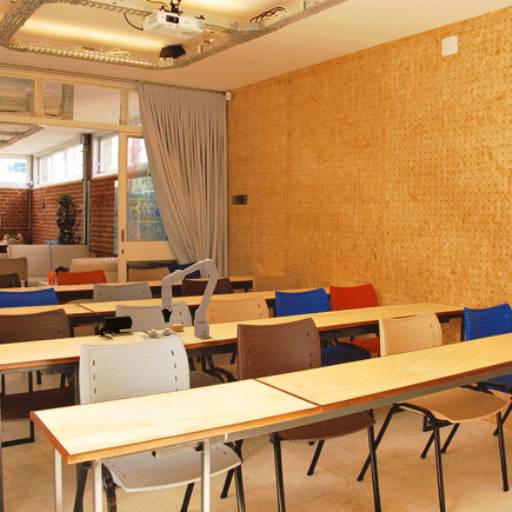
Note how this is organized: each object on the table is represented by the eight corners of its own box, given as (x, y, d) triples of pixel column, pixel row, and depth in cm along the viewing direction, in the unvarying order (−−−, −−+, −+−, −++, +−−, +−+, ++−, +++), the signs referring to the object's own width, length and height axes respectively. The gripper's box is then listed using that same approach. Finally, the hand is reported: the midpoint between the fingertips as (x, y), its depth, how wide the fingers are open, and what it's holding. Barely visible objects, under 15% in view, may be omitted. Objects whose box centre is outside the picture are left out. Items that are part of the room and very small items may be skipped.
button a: (169, 332, 356) (169, 329, 356) (165, 332, 355) (165, 329, 355) (168, 331, 358) (168, 328, 358) (164, 332, 357) (164, 328, 357)
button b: (156, 333, 352) (156, 330, 352) (151, 334, 351) (151, 330, 351) (154, 333, 354) (154, 329, 354) (150, 333, 353) (150, 329, 353)
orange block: (183, 332, 369) (183, 325, 369) (174, 333, 366) (174, 325, 366) (179, 331, 374) (179, 323, 373) (171, 332, 371) (171, 324, 371)
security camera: (97, 334, 362) (97, 317, 362) (130, 332, 370) (129, 315, 369) (100, 336, 356) (100, 319, 355) (133, 334, 364) (132, 317, 363)
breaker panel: (180, 338, 354) (180, 333, 354) (146, 341, 345) (146, 336, 345) (173, 334, 365) (173, 329, 364) (139, 337, 355) (139, 332, 355)
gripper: (155, 297, 359) (155, 320, 360) (164, 300, 347) (164, 325, 348) (167, 296, 363) (167, 319, 364) (176, 299, 350) (176, 324, 351)
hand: (166, 322), depth 356 cm, fingers closed
